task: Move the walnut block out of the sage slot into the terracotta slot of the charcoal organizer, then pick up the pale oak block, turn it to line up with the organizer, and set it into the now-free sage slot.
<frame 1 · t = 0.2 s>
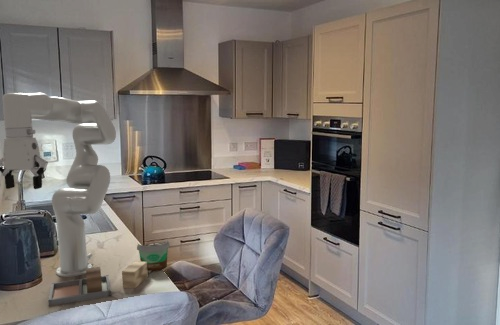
hand: (24, 188, 141), 36 cm above the worktop, tool pointing down, fingers open, 9 cm apart
slot organizer: (80, 292, 149), on the worktop
pale oak block: (135, 283, 157), on the worktop
walnut block: (94, 289, 151), resting on slot organizer
food container: (156, 269, 169), on the worktop
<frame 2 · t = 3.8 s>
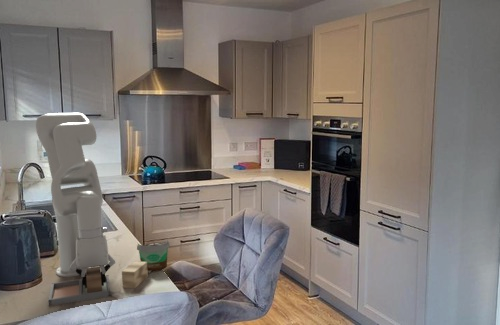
hand: (94, 285, 151), 2 cm above the worktop, tool pointing down, fingers closed on walnut block, 4 cm apart
walnut block: (94, 289, 151), resting on slot organizer, touching gripper
everything else where it was.
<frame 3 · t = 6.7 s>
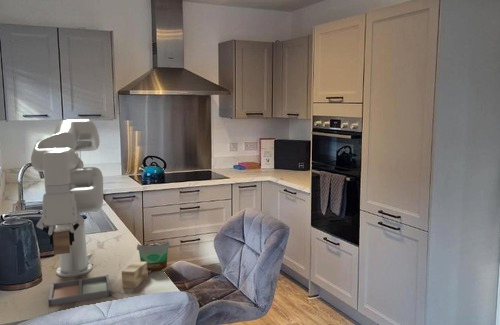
hand: (62, 244, 146), 17 cm above the worktop, tool pointing down, fingers closed on walnut block, 4 cm apart
walnut block: (63, 249, 146), point 15 cm above the worktop, touching gripper
everything else where it was.
when the fingers open (3 cm above the worktop, at t = 9.6 s): walnut block drops 1 cm, resting on slot organizer.
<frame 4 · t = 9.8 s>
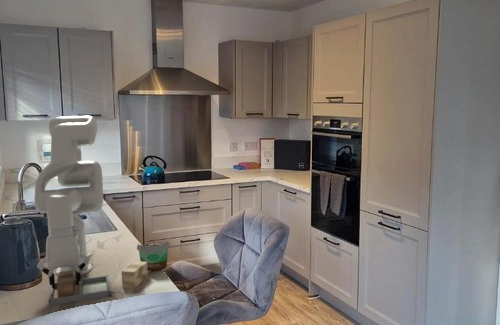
hand: (65, 284, 148), 3 cm above the worktop, tool pointing down, fingers open, 6 cm apart
walnut block: (66, 293, 148), resting on slot organizer
everything else where it was.
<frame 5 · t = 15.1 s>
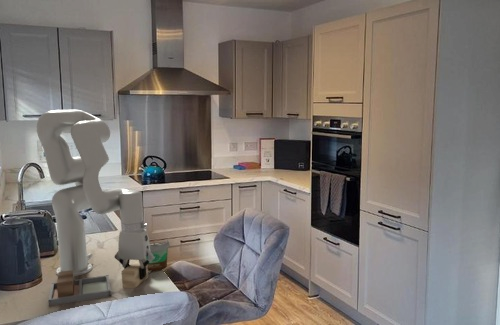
hand: (135, 277, 157), 2 cm above the worktop, tool pointing down, fingers closed on pale oak block, 4 cm apart
pale oak block: (135, 282, 157), on the worktop, touching gripper
everything else where it was.
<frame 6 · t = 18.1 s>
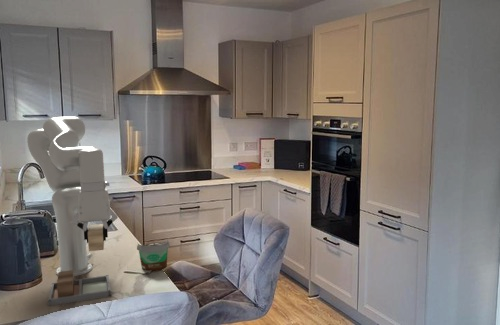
hand: (96, 240, 150), 17 cm above the worktop, tool pointing down, fingers closed on pale oak block, 4 cm apart
pale oak block: (96, 245, 150), point 15 cm above the worktop, touching gripper
everything else where it was.
when the fingers open (3 cm above the worktop, at t = 21.3 s): pale oak block stays where it is, resting on slot organizer.
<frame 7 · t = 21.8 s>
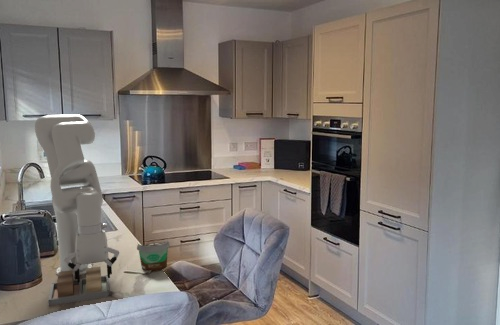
hand: (93, 278, 150), 4 cm above the worktop, tool pointing down, fingers open, 9 cm apart
pale oak block: (94, 289, 151), resting on slot organizer
everything else where it was.
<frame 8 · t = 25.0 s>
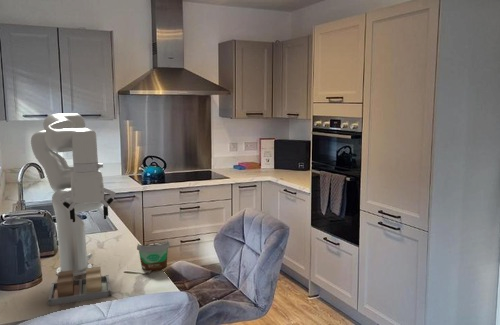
hand: (89, 219, 148), 24 cm above the worktop, tool pointing down, fingers open, 9 cm apart
nothing on the worktop moved.
at the end: walnut block 0.1 cm from the target spot on the slot organizer, point 0.3 cm above the slot organizer's base; pale oak block 0.1 cm from the target spot on the slot organizer, point 0.3 cm above the slot organizer's base; pale oak block tilted 0° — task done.
